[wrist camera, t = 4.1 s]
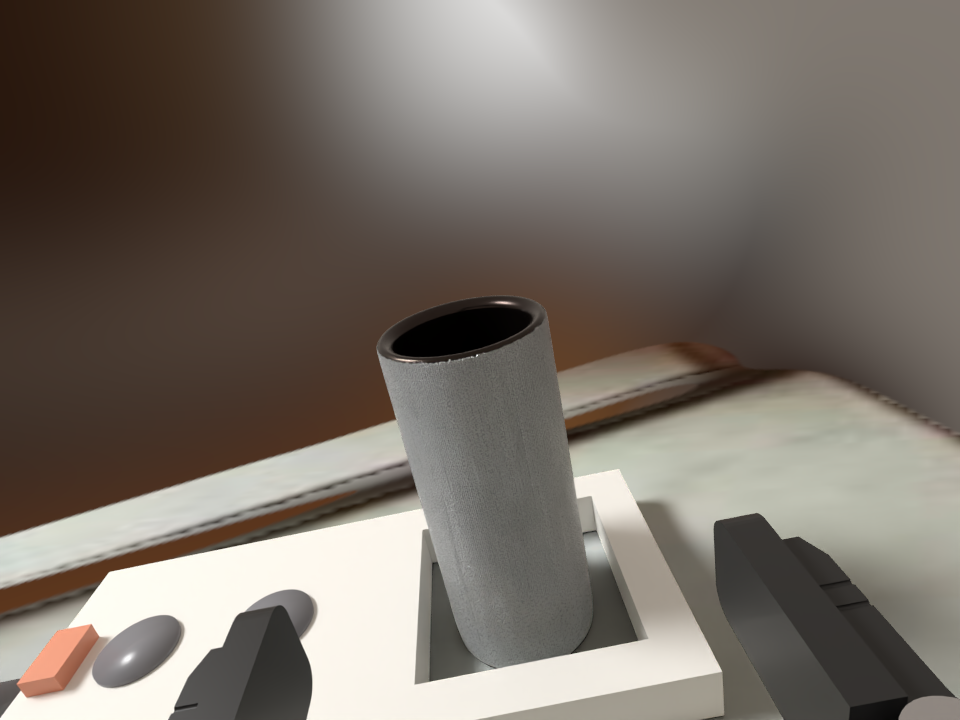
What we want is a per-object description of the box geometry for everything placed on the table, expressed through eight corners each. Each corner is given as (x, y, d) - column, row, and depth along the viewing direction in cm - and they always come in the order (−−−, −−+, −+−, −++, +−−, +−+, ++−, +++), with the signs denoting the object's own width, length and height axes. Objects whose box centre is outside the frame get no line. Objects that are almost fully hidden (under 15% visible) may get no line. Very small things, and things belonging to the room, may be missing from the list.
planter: (533, 544, 22) (480, 286, 18) (624, 611, 18) (583, 307, 14) (433, 613, 20) (348, 338, 16) (514, 704, 16) (430, 377, 12)
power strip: (-304, 913, 15) (-366, 866, 14) (-40, 635, 24) (-71, 595, 23) (724, 715, 15) (721, 654, 14) (622, 501, 23) (617, 455, 22)
